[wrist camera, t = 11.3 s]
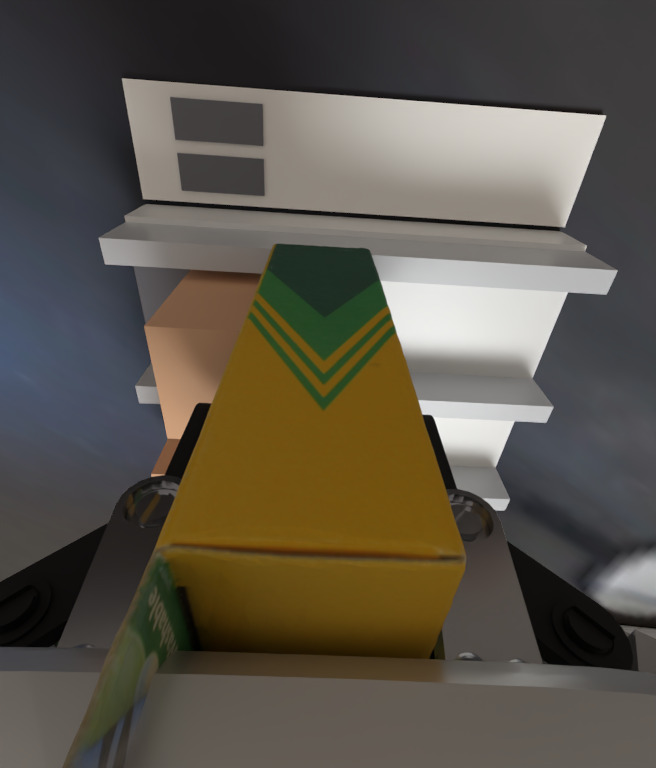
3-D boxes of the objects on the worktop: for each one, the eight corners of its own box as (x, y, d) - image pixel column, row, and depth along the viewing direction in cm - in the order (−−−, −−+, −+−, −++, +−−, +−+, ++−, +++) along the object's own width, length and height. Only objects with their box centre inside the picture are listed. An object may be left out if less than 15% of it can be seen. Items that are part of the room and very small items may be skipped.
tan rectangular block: (280, 269, 15) (262, 332, 10) (280, 360, 17) (266, 443, 13) (195, 263, 14) (143, 326, 10) (206, 356, 17) (167, 438, 13)
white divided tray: (602, 115, 14) (689, 118, 11) (477, 454, 23) (503, 513, 20) (124, 78, 13) (57, 69, 10) (187, 440, 22) (163, 499, 19)
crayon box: (354, 440, 16) (389, 976, 6) (275, 436, 16) (181, 972, 6) (378, 246, 12) (610, 940, 2) (272, 239, 11) (-51, 927, 2)
